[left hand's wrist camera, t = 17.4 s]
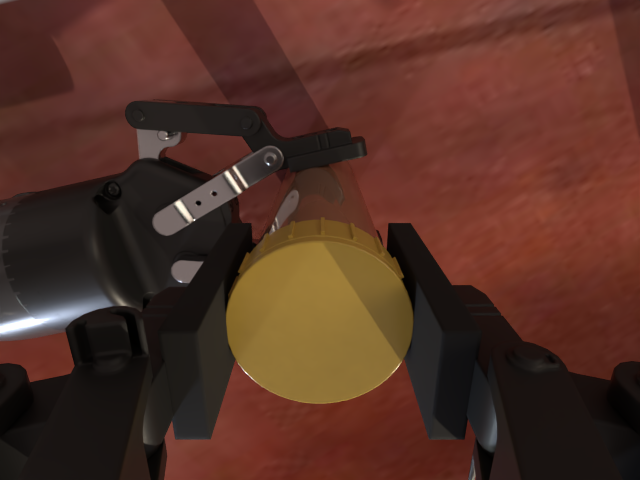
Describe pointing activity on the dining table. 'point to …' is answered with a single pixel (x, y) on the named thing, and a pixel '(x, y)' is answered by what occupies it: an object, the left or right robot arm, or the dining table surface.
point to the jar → (320, 199)
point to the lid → (319, 312)
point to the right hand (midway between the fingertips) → (371, 195)
